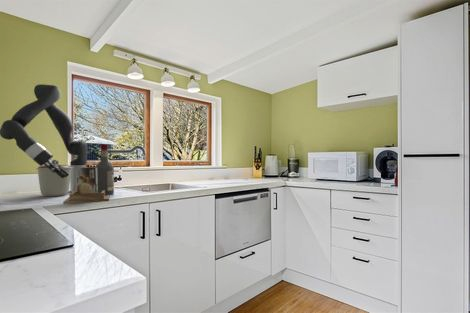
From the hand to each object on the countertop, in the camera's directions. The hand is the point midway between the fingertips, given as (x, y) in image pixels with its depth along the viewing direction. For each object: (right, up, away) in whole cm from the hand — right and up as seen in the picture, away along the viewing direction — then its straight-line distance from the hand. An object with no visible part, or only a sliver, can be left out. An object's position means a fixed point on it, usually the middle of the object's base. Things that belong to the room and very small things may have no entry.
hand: (66, 176), depth 142 cm
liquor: (+9, -13, +23) cm, 28 cm away
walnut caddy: (+9, -13, +4) cm, 16 cm away
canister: (-20, -13, +22) cm, 32 cm away
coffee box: (+9, -12, +4) cm, 15 cm away
